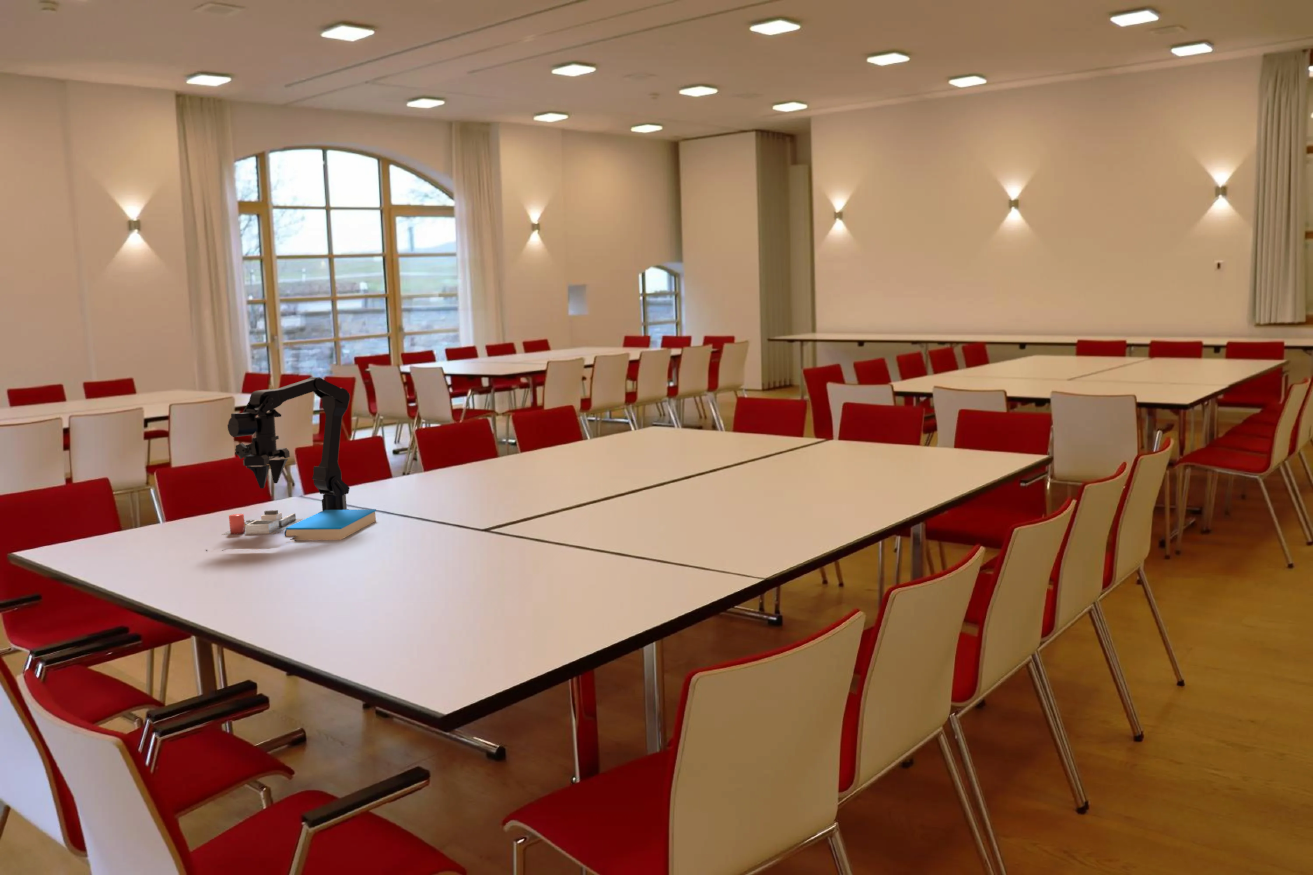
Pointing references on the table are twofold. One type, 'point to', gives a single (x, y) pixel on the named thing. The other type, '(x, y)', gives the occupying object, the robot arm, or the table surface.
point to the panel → (267, 525)
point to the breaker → (271, 515)
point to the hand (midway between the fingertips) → (268, 485)
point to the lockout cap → (236, 523)
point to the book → (331, 524)
